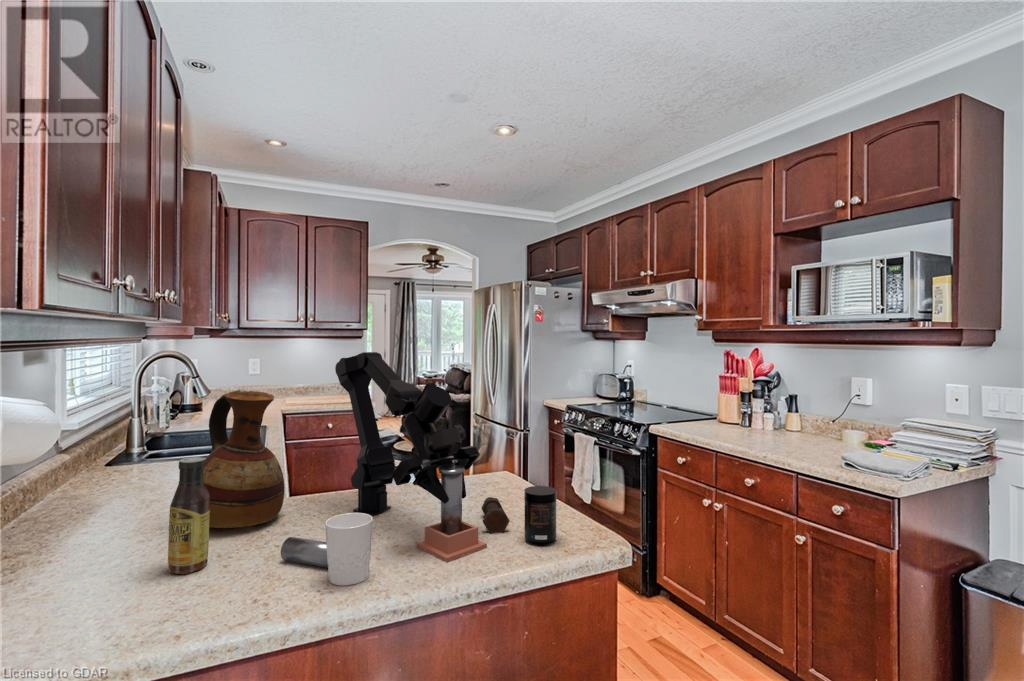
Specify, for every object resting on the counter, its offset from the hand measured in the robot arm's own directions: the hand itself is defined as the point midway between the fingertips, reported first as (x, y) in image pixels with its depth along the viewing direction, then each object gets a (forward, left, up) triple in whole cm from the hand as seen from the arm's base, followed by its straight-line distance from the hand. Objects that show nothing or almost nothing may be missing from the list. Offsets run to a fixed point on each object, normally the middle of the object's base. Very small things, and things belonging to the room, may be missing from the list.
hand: (455, 499), depth 102 cm
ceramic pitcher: (-52, -12, -10) cm, 54 cm away
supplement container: (+13, +12, -10) cm, 20 cm away
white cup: (-9, -19, -10) cm, 23 cm away
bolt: (-2, +18, -10) cm, 20 cm away
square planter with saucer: (-1, 0, -10) cm, 10 cm away
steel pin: (-1, 0, -7) cm, 7 cm away
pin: (-19, -17, -6) cm, 27 cm away
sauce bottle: (-37, -31, -10) cm, 49 cm away
